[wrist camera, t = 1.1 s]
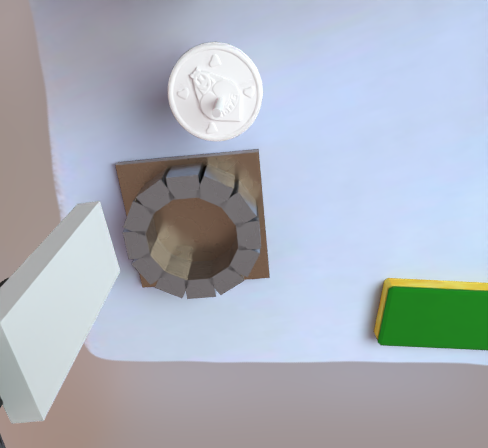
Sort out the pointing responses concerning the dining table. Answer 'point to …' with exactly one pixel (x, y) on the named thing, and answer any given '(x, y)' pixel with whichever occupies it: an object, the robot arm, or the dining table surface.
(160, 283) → the stone fire pit ring
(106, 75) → the dining table surface
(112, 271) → the robot arm
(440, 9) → the dining table surface
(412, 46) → the dining table surface
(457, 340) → the dish sponge
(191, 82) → the smoothie
